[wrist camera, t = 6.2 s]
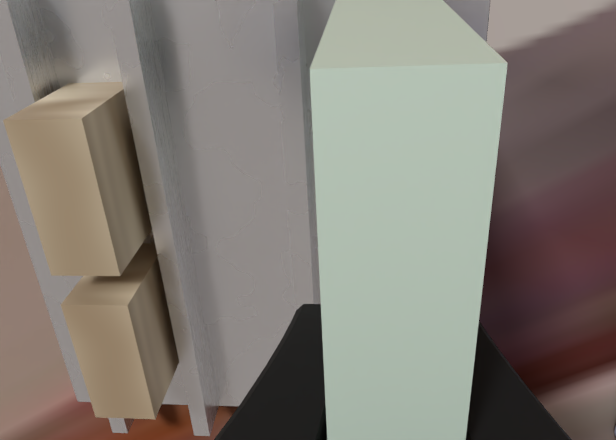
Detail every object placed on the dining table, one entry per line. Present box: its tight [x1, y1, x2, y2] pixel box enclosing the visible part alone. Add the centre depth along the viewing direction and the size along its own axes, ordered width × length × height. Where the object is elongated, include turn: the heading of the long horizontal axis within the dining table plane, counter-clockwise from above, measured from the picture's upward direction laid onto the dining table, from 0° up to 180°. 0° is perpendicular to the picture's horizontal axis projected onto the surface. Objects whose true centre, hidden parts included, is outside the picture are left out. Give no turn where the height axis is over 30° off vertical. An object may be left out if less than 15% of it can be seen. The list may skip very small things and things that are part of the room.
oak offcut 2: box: [61, 243, 179, 419], centre depth 19 cm, size 2×4×4 cm, turn 3°
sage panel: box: [310, 0, 507, 440], centre depth 9 cm, size 1×10×8 cm, turn 3°
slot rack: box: [0, 0, 490, 436], centre depth 18 cm, size 15×16×2 cm
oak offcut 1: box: [3, 82, 152, 276], centre depth 16 cm, size 2×4×4 cm, turn 3°
